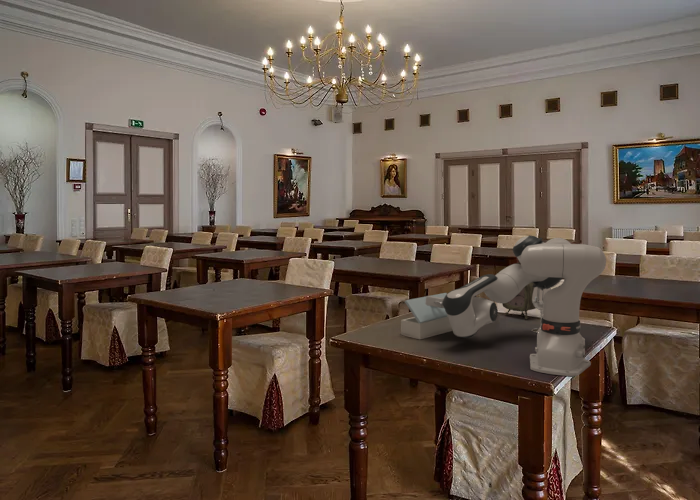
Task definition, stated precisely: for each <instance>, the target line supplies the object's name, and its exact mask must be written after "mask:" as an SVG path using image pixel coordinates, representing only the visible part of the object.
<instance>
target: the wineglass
mask: <svg viewBox="0 0 700 500" xmlns="http://www.w3.org/2000/svg"><path fill="white" fill-rule="evenodd" d="M551 289H552V288H548V289H540V288H538V287H535V288H534V289H533V294H532V303H533V305H534V307H535V308H536V310H538V311H539V312H540V320H541V319H542V317H543V298H544V295H545V294H546V292H548V291H549V290H551ZM540 331H541V324H540V326H539V328H537V327H536V328H532V329H531V332H533V333H536V334H537V333H539V332H540Z"/></svg>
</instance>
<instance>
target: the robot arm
mask: <svg viewBox="0 0 700 500" xmlns="http://www.w3.org/2000/svg"><path fill="white" fill-rule="evenodd" d="M512 252H513V255H514V256H515V258H517V260H518V263H521V264H516V263H513V264H510V265H508V266H507V267H504V268H503V269H501V270H499V272H497V273H496V274H490V273H488V274H484V275H482V276H479V277H477V278H476V279H473V280H471V282H468V283H466V284H465V285H464V284H463V286H461V287H459V288H456V289H453V290H451V291H449V292H446V293H447V295H446V296H445V297H444V298H440V297H432V296H431V295H426V296H427V297H426V296H425V297H426V302H425V304H426V305H428V306H433V307H438V308H444V309H445V311H446V313H447V316H448V319H449V322H450V324H451V327H452V330H453V331H452V332H453V335H455V336H456V337H458V338H461V339H469V338H473V337H474V336H475V335H476V334H477V333H478V332H479V330H480V329H481V328H483V327H484V326H485V325H488V324H492V323H495V322H496V321H497V319H498V316H499V315H498V314H499V313H498V312H499V311H498V310H499V309H498V306H497V304H502V303H507V302H509V301H511V300H512V299H513V298H514V297H515V296H517V295H518V294H519V293H520V292H521V290H522V289H523V288H524V287H525V286H526V285H527V284H529V283H534V284H533V285H532V287H534V288H535V287H538V288H540V289H548V288H551V290H549V291H548V292H546V294H545V295H544V298H543V317H542V319H541V318H540V325H541V331H540V332H539V333H536V346H535V347H534V349H533V350H534V351H535V352H536V353H530V354H529V366H530V370H531V371H534V372H537V373H543V374H548V375H554V376H555V375H557V376H564V377H565V376H566V377H578V376H579V375H580V374H582V373H583V372H584V371H586V370H587V369H588V368H589V367H591V365H592V363H591V361H590V360H588V359H586V339H585V337H583V335H581V333H580V332H581V328H582V327H581V326H582V324H581V320H580V307H581V300H582V295H583V292H584V291H585V289H586V288H587V287H588V285H589V284H590V283H591V282H593V280H595V279H596V278H598V277H599V276H601V274H602V273H603V272H604V271H605V268H606V265H607V258H606V255H605V252H604V251H603V250H602V248H601V247H599V246H596V245H590V244H585V243H572V242H570V241H569V240H567V239H565V238H563V237H554V238H551V239H549V240H547V241H546V242H544V240H543V238H542V237H537V236H536V235H531V234H529V235H527V236H523V237H521V238H519V239H518V240H517V241H516V242H515V244H514V245H513V247H512ZM562 280H563V282H562ZM560 282H562V284H560ZM558 284H560V285H558ZM482 293H484V294H485V295H486V297H487V298H483V297H479V296H478V295H480V294H482ZM496 303H497V304H496Z"/></svg>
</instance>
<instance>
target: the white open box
mask: <svg viewBox="0 0 700 500" xmlns="http://www.w3.org/2000/svg"><path fill="white" fill-rule="evenodd" d="M450 332H453V330H452V327H451V324H450V322H449V319H448V317H445V318H440V319H436V320H432V321H428V322H424V323H418V321H417V320H416V318H415V317H414V316H413V317H412V316H411V317H409V318H404V319H400V335H401V336H405V337H409V338H413V339H417V340H423V339H427V338H430V337H434V336H437V335H441V334H445V333H450Z"/></svg>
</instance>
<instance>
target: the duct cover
mask: <svg viewBox="0 0 700 500" xmlns="http://www.w3.org/2000/svg"><path fill="white" fill-rule="evenodd" d="M447 293H448V292H443V293H442V292H441V293H439V294H433V295H432V294H431V295H430V296H432V297H440V298H444V297H445V296H446V295H447ZM427 296H428V295H426V296H422V297H416V298H411V299H406V300H405V301H404V304H406V306H407V308H408V309H409V311H410V312H411V313H412V315H413V317H415V318H416V320H417V321H418V323H424V322H428V321H432V320H436V319H440V318H445V317H448V316H447V313H446V311H445V309H444V308H438V307H433V306H428V305H426V304H425V302H426V297H427Z"/></svg>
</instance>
